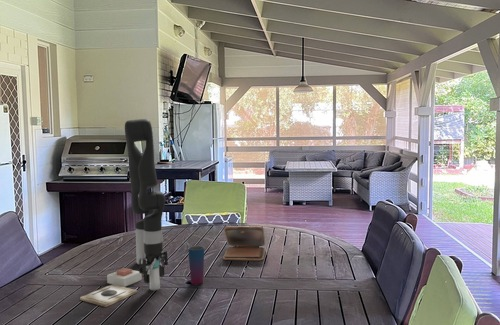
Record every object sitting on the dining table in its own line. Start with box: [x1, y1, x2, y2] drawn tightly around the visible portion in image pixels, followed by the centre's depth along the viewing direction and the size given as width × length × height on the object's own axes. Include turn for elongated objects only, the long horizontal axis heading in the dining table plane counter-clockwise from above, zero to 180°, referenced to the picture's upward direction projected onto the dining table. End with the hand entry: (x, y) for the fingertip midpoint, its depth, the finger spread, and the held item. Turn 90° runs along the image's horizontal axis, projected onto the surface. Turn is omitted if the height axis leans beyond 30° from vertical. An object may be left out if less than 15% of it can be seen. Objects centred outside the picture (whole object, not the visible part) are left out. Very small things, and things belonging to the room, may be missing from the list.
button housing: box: [106, 269, 143, 288], centre depth 196 cm, size 10×10×4 cm
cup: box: [187, 245, 205, 285], centre depth 193 cm, size 7×7×15 cm
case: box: [222, 225, 266, 262], centre depth 232 cm, size 20×21×16 cm
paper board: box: [79, 284, 138, 308], centre depth 179 cm, size 16×14×1 cm
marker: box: [149, 260, 161, 291], centre depth 187 cm, size 4×4×12 cm
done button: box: [116, 267, 133, 276], centre depth 196 cm, size 4×4×3 cm
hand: (154, 279), depth 187 cm, fingers open, 8 cm apart
